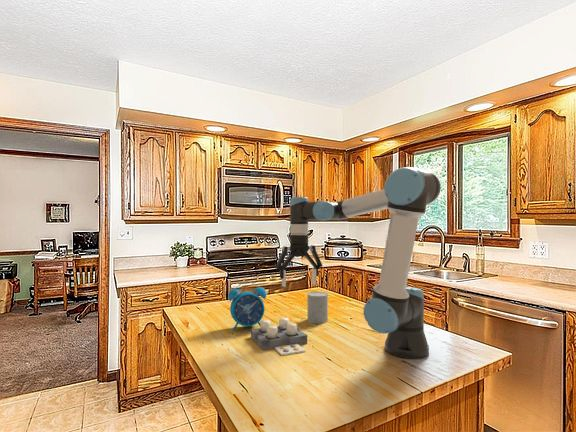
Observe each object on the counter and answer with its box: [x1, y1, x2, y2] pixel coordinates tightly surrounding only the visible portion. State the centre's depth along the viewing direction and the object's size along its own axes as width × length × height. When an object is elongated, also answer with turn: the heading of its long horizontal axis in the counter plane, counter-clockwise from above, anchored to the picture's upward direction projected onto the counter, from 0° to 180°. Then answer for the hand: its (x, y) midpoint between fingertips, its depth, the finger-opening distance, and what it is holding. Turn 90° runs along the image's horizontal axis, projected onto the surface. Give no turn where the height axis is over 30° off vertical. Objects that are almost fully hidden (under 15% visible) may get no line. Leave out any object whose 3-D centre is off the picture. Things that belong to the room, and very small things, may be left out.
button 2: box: [267, 325, 278, 338], centre depth 133 cm, size 4×4×4 cm
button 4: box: [287, 322, 298, 335], centre depth 136 cm, size 4×4×4 cm
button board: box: [250, 325, 308, 351], centre depth 138 cm, size 15×18×3 cm
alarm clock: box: [227, 280, 267, 332], centre depth 153 cm, size 17×10×20 cm, turn 104°
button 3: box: [278, 317, 290, 329], centre depth 144 cm, size 4×4×4 cm
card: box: [274, 344, 306, 357], centre depth 128 cm, size 7×9×1 cm
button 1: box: [259, 319, 271, 332], centre depth 141 cm, size 4×4×4 cm
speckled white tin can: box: [306, 291, 329, 324], centre depth 164 cm, size 10×10×12 cm
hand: (299, 285), depth 146 cm, fingers open, 13 cm apart
